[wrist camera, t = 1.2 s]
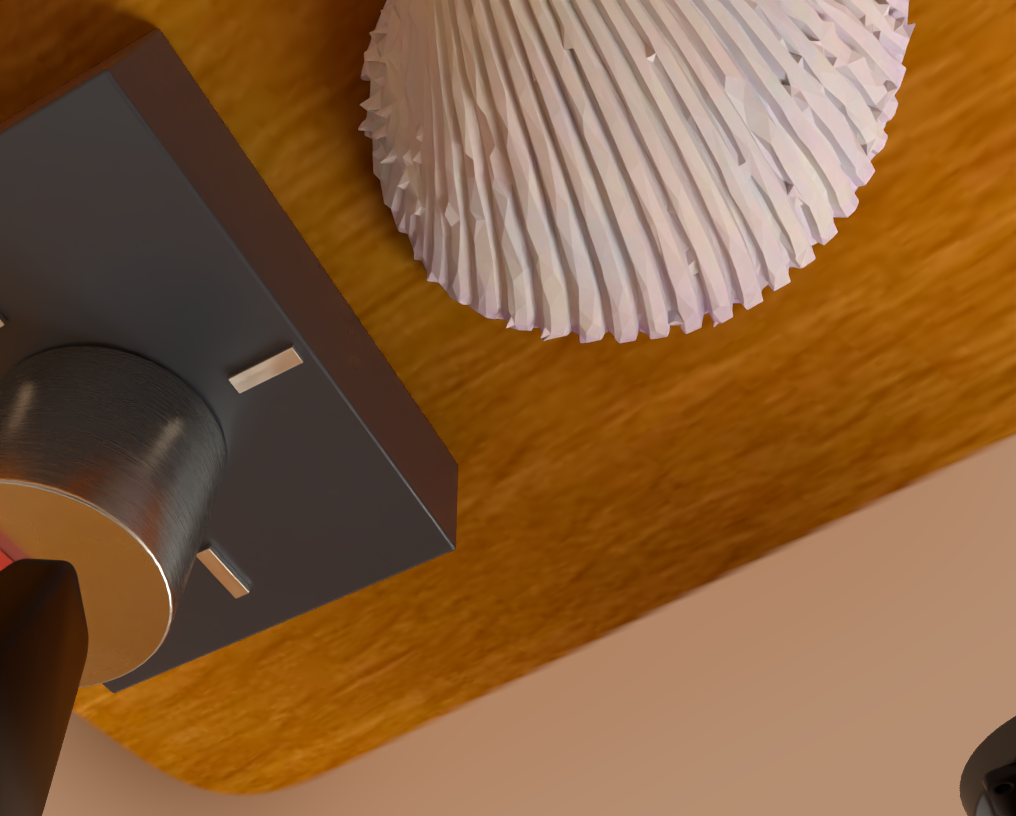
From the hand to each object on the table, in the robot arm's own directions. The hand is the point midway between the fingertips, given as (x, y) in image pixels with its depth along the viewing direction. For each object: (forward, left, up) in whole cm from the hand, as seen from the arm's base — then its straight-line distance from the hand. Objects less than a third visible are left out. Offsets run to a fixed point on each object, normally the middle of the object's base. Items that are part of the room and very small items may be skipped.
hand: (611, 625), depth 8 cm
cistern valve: (0, +9, -12) cm, 16 cm away
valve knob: (0, +9, -9) cm, 13 cm away
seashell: (0, -2, -13) cm, 13 cm away
